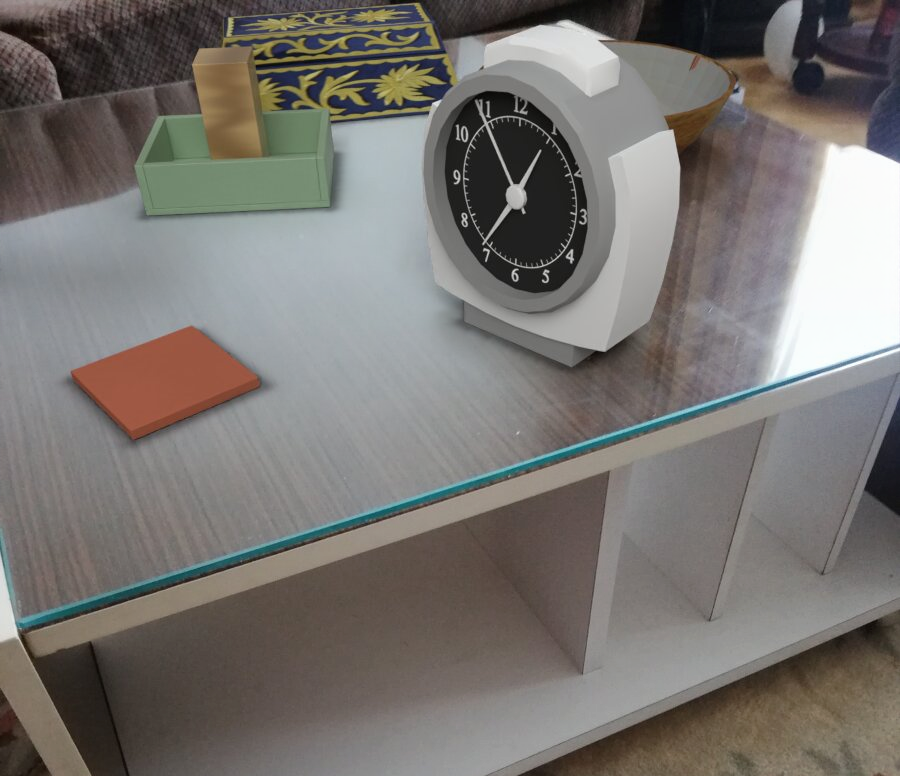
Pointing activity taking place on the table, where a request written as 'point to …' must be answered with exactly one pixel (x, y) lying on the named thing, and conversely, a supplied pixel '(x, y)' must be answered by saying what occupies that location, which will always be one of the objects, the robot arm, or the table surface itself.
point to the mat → (164, 381)
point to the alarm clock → (551, 194)
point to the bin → (237, 167)
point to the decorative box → (346, 60)
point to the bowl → (679, 85)
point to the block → (230, 102)
